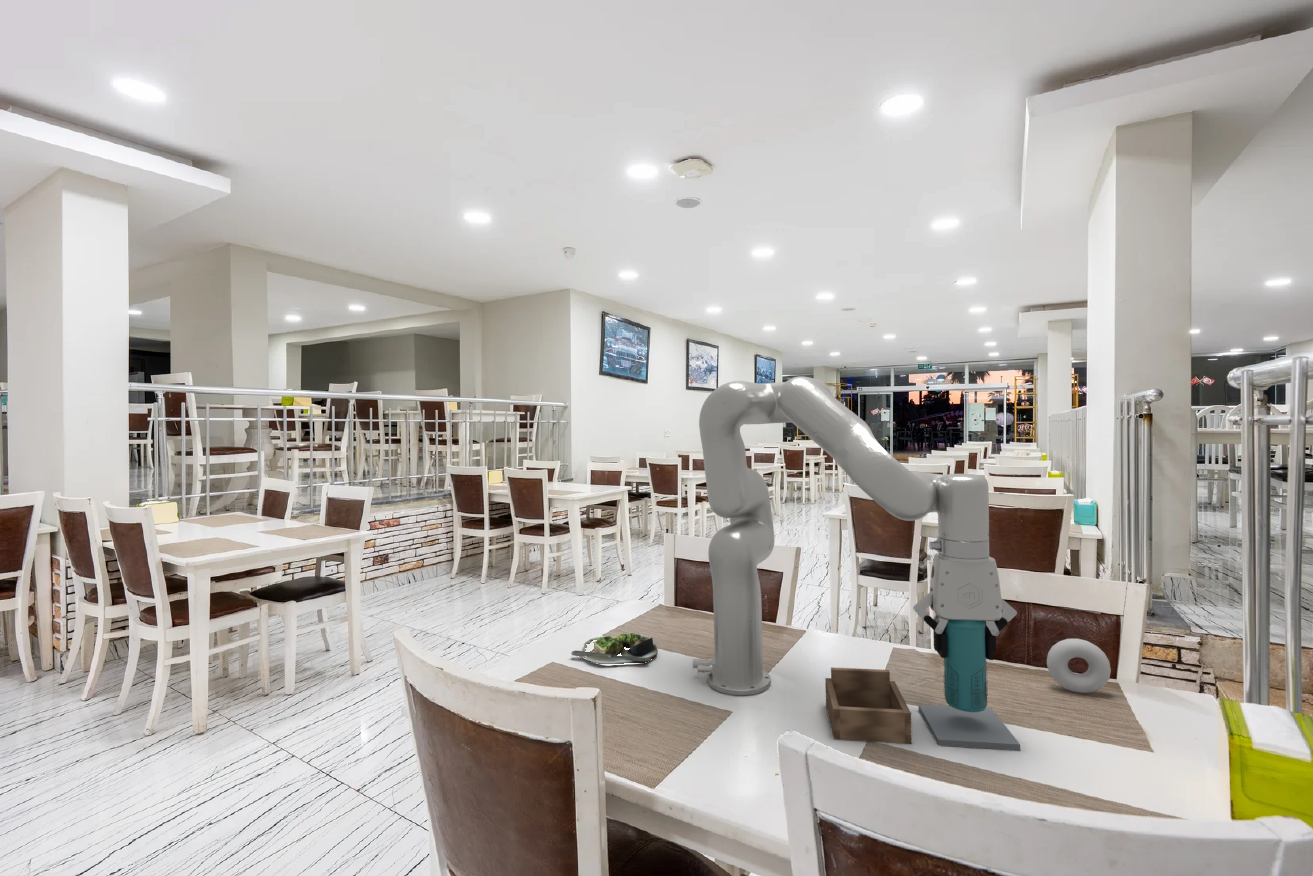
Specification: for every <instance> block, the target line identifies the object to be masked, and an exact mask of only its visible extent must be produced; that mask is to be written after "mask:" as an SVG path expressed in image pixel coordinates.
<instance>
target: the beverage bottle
mask: <svg viewBox="0 0 1313 876" xmlns="http://www.w3.org/2000/svg"><path fill="white" fill-rule="evenodd" d="M944 633H945V634H946V640H947V657H946V658H943V668H944V669H943V673H944V674H943V686H944V694H943V696H944V699H945V702H946V704H947V706H951V707H953V708H955V709H958V710H961V711H966V712H981V711H984V710H985V709H986V708H987V705H988V702H989V701H988V697H989V694H988V689H989V688H988V681H987V674H988V666H987V664H988V662H987V661H988V660H987V657H986V651H985V621H960V620H948V622H947V624H946V626H945V628H944Z"/></svg>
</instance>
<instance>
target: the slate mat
mask: <svg viewBox="0 0 1313 876" xmlns="http://www.w3.org/2000/svg"><path fill="white" fill-rule="evenodd" d="M917 706H918V711H919V714H920V716H921V717H922V720H924V721H923V722H924V723H925V724H926V726H927V728H928V730H929V732H930V733H931V736H932V737H933V739H934V741H935V742H936V744H937V746H939V747H952V748H955V747H956V748H968V749H983V750H984V749H985V750H986V749H987V750H1002V751H1015V752H1016V751H1018V752H1019V751H1021V743H1020V742H1019V741H1018V740H1017V738H1015V736H1014V735H1013V733H1012V732H1011V731H1010V730H1009V728H1008V727H1007V726H1006V724H1005V723H1004V722H1003V721H1002V720H1001V719H1000V717H999V716H998V715H997V714H996V713H995V711H994V710H993V708H990V707H986V709H985V710H984V711H981V712H966V711H961V710H958V709H955V708H953V707H951V706H950V705H937V704H936V705H933V704H918V705H917Z"/></svg>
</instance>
